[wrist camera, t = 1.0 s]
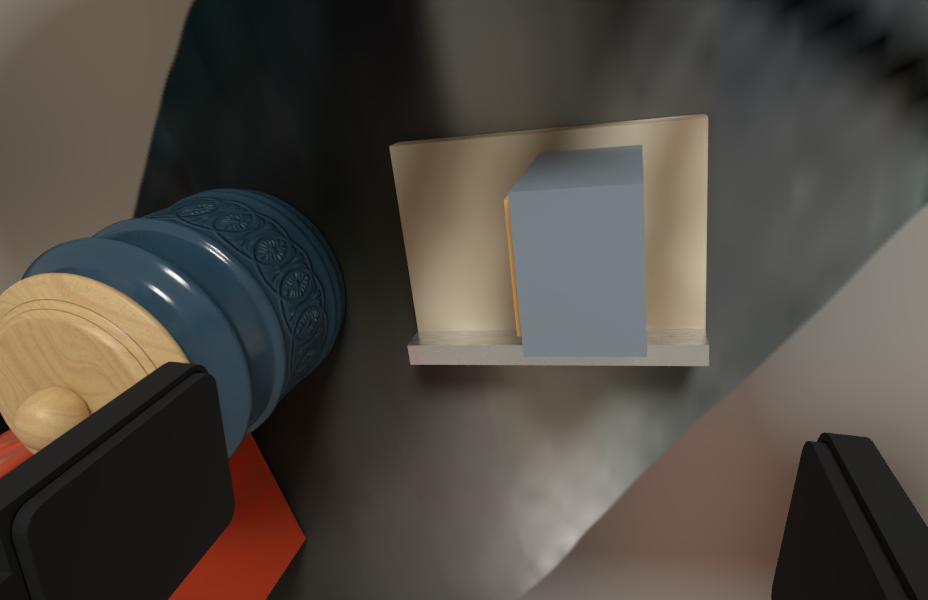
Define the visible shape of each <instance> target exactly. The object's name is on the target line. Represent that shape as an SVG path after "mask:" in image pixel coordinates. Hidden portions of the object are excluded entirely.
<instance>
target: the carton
mask: <svg viewBox="0 0 928 600" xmlns="http://www.w3.org/2000/svg"><path fill="white" fill-rule="evenodd" d="M504 207H505V218H506V228H507V238H508V248H509V258H510V268H511V279H512V289H513V299H514V309H515V319H516V329H517V336H522V345H523V356H524V357H647V319H646V272H645V225H644V180H643V152H642V145H631V146H618V147H606V148H594V149H582V150H570V151H558V152H545V153H539V155H538V156H537V157H536V158H535V160H534V161H533V162H532V163H531V164H530V166H529V167H528V168H527V169H526V171H525V172H524V173H523V174H522V176H521V177H520V178H519V179H518V181H517V182H516V183H515V184H514V185H513V187H512V188H511V189H510V190H509V192H508V195H507V196H506V198H505V199H504Z"/></svg>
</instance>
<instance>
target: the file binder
mask: <svg viewBox="0 0 928 600" xmlns="http://www.w3.org/2000/svg"><path fill="white" fill-rule="evenodd" d="M33 455H34V454H32V453H31V452H30V451H29V450H28V449H27V448H26V447H25V446H24V445H23V444H22V443H21V441H20V440H19V439H18V438H17V437H16V435H15V434H14V433H13V432H12V430H11V429H10V430H9V431H7V432H5V433H4V434H2V435H1V436H0V478H1V477H3V476H4V475H5V474H7V473H8V472H10V471H11V470H13V469H14V468H15V467H17V466H18V465H20V464H21V463H23V462H24V461H26V460H27V459H28V458H30V457H31V456H33ZM229 467H230V473H231V479H232V486H233V492H234V498H235V511H234V515H233V518H232V520H231V522H230V524H229V525H228V527H227V528H226V529H225V530H224V532H223V533H222V534H221V535H220V537H219V538H218V539H217V540H216V541H215V543H214V544H213V545H212V546H211V548H210V549H209V550H208V551H207V552H206V554H205V555H204V556H203V557H202V559H201V560H200V561H199V562H198V564H197V565H196V566H195V567H194V568H193V570H192V571H191V572H190V573H189V575H188V576H187V577H186V578H185V579H184V581H183V582H182V583H181V584H180V586H179V587H178V588H177V589H176V591H175V592H174V593H173V594H172V595H171V597H170V598H169V599H168V600H265V599H266V598H267V596H268V595H269V593H270V592H271V590H272V589H273V587H274V586H275V584H276V583H277V581H278V580H279V578H280V577H281V575H282V574H283V572H284V571H285V569H286V568H287V566H288V565H289V563H290V562H291V560H292V559H293V557H294V556H295V554H296V553H297V551H298V550H299V548H300V547H301V545H302V544H303V542H304V541H305V539H306V538H305V536H304V534H303V532H302V530H301V528H300V526H299V524H298V522H297V520H296V518H295V517H294V515H293V513H292V511H291V509H290V507H289V505H288V503H287V501H286V499H285V497H284V496H283V494H282V492H281V490H280V488H279V486H278V484H277V482H276V480H275V478H274V476H273V474H272V473H271V471H270V469H269V467H268V465H267V463H266V461H265V459H264V457H263V455H262V453H261V451H260V450H259V448H258V446H257V444H256V442H255V440H254V438H253V436H252V434H251V433H250V434H248V435H246V436H245V438H244V440H243V441H242V443H241V445H240V446H239V448H238V449H237V451H236V452H235V453H234V454H233V456H232V457H231V458H230V459H229Z"/></svg>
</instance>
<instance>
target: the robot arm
mask: <svg viewBox="0 0 928 600" xmlns="http://www.w3.org/2000/svg"><path fill="white" fill-rule="evenodd" d="M234 511H235V498H234V492H233V486H232V479H231V473H230V467H229V460H228V454H227V447H226V441H225V435H224V428H223V422H222V416H221V409H220V403H219V396H218V390H217V384H216V380H215V378H214V377H213V376H212V375H211V374H209V373H208V371H207V369H206V368H205V367H204V366H202V365H199V364H190V363H181V362H167V363H165V364H163V365H162V366H160V367H159V368H157V369H156V370H154V371H153V372H152V373H150V374H149V375H147V376H146V377H144V378H143V379H142V380H140V381H139V382H137V383H136V384H134V385H133V386H132V387H130V388H129V389H127V390H126V391H124V392H123V393H121V394H120V395H119V396H117V397H116V398H114V399H113V400H111V401H110V402H109V403H107V404H106V405H104V406H103V407H101V408H100V409H99V410H97V411H96V412H94V413H93V414H91V415H90V416H89V417H87V418H86V419H84V420H83V421H81V422H80V423H79V424H77V425H76V426H74V427H73V428H71V429H70V430H68V431H67V432H66V433H64V434H63V435H61V436H60V437H58V438H57V439H56V440H54V441H53V442H51V443H50V444H48V445H47V446H46V447H44V448H43V449H41V450H40V451H38V452H37V453H36V454H34V455H33V456H31V457H30V458H28V459H27V460H26V461H24V462H23V463H21V464H20V465H18V466H17V467H15V468H14V469H13V470H11V471H10V472H8V473H7V474H5V475H4V476H3V477H1V478H0V600H168V599H169V598H170V597H171V595H172V594H173V593H174V592H175V591H176V589H177V588H178V587H179V586H180V584H181V583H182V582H183V581H184V579H185V578H186V577H187V576H188V575H189V573H190V572H191V571H192V570H193V568H194V567H195V566H196V565H197V564H198V562H199V561H200V560H201V559H202V557H203V556H204V555H205V554H206V552H207V551H208V550H209V549H210V548H211V546H212V545H213V544H214V543H215V541H216V540H217V539H218V538H219V537H220V535H221V534H222V533H223V532H224V530H225V529H226V528H227V527H228V525H229V524H230V522H231V520H232V518H233V515H234ZM771 598H772V600H928V527H927V526H926V524H925V522H924V521H923V519H922V518H921V516H920V515H919V513H918V512H917V510H916V508H915V507H914V505H913V504H912V502H911V501H910V499H909V498H908V496H907V494H906V493H905V491H904V490H903V488H902V487H901V485H900V484H899V482H898V480H897V479H896V477H895V476H894V474H893V473H892V471H891V470H890V468H889V467H888V465H887V463H886V462H885V460H884V459H883V457H882V456H881V454H880V452H879V451H878V449H877V448H876V446H875V445H874V443H873V442H872V441H871V440H870V438H867V437H860V436H850V435H841V434H833V433H822V434H821V435H820V437H819V438H818V441H817V442H813V441H807V442H806V443H805V445H804V446H803V450H802V454H801V458H800V463H799V468H798V472H797V476H796V481H795V485H794V490H793V495H792V499H791V504H790V508H789V513H788V517H787V522H786V526H785V531H784V535H783V540H782V544H781V549H780V554H779V558H778V562H777V567H776V571H775V576H774V580H773V585H772V595H771Z"/></svg>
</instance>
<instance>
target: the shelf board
mask: <svg viewBox="0 0 928 600" xmlns="http://www.w3.org/2000/svg"><path fill="white" fill-rule="evenodd" d="M631 145H642V152H643V180H644V225H645V272H646V319H647V357H524V356H523V345H522V336H517V329H516V319H515V309H514V299H513V289H512V279H511V268H510V258H509V248H508V238H507V228H506V218H505V207H504V199H505V198H506V196H507V195H508V192H509V190H510V189H511V188H512V187H513V185H514V184H515V183H516V182H517V181H518V179H519V178H520V177H521V176H522V174H523V173H524V172H525V171H526V169H527V168H528V167H529V166H530V164H531V163H532V162H533V161H534V160H535V158H536V157H537V156H538V155H539V153H545V152H558V151H570V150H582V149H594V148H606V147H618V146H631ZM389 148H390V154H391V161H392V167H393V173H394V180H395V186H396V193H397V199H398V205H399V212H400V218H401V224H402V231H403V237H404V244H405V250H406V256H407V263H408V269H409V276H410V282H411V288H412V295H413V301H414V307H415V314H416V320H417V327H418V332H417V333H416V335H415V336H414V337H413V339H412V340H411V341H410V343H409V344H408V345H407V346H408V352H409V358H410V364H411V365H584V366H709V342H708V338H707V333H706V329H705V321H706V246H707V172H708V117H707V115H706V114H698V115H687V116H676V117H665V118H654V119H643V120H633V121H622V122H611V123H600V124H589V125H578V126H567V127H557V128H546V129H535V130H524V131H513V132H502V133H491V134H481V135H470V136H459V137H448V138H437V139H426V140H415V141H405V142H398V143H395V144H393V145H391V146H389Z"/></svg>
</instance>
